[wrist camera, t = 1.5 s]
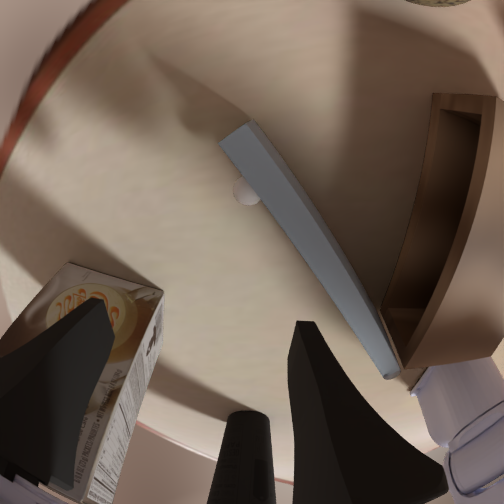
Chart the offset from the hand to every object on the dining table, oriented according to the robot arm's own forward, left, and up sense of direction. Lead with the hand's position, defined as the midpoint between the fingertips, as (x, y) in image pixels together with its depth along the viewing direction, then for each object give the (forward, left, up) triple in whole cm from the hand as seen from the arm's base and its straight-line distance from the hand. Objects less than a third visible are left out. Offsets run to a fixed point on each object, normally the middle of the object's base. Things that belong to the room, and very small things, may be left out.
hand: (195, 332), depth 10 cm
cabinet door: (0, -6, -8) cm, 10 cm away
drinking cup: (-23, -3, -9) cm, 25 cm away
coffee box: (-7, +9, -9) cm, 15 cm away
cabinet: (+3, -16, -9) cm, 19 cm away
